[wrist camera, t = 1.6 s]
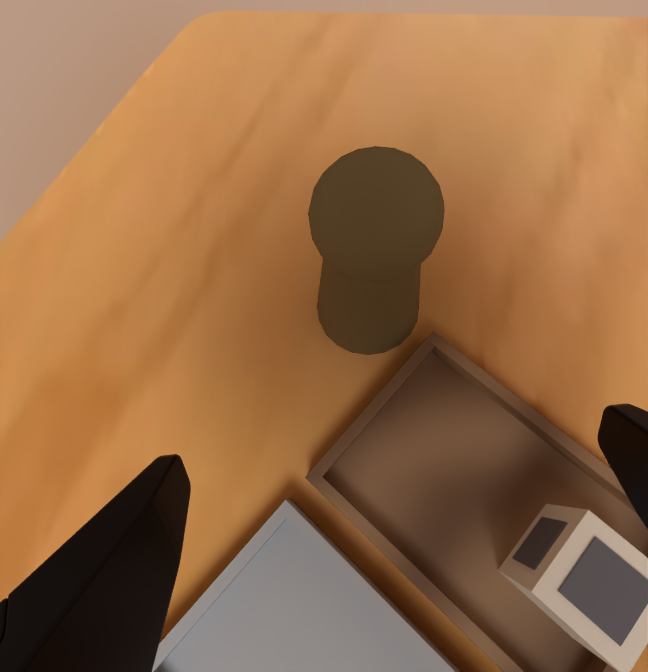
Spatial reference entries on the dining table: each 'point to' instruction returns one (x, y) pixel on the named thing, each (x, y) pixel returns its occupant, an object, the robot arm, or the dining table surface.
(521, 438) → the walnut tray
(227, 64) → the dining table surface
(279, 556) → the grey tray
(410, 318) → the brown rounded upright piece
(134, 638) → the robot arm
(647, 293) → the dining table surface
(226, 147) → the dining table surface
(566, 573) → the beige and grey cube
